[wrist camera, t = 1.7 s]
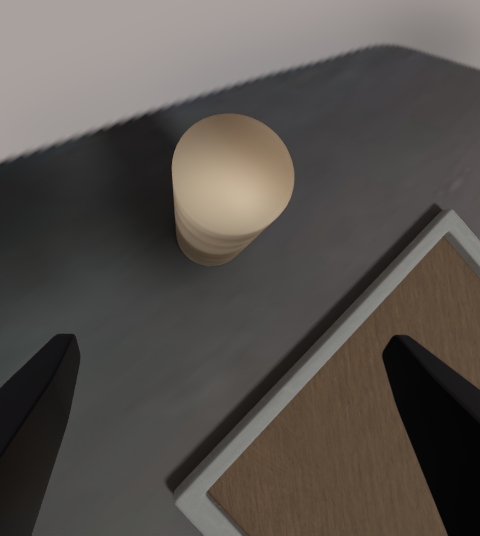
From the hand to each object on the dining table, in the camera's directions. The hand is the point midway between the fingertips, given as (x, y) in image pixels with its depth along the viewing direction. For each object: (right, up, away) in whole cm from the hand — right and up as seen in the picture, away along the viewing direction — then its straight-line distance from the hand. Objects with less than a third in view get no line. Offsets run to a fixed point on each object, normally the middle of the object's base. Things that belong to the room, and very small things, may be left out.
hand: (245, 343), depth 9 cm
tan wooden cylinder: (-2, +4, +13) cm, 14 cm away
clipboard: (+13, -9, +15) cm, 21 cm away
